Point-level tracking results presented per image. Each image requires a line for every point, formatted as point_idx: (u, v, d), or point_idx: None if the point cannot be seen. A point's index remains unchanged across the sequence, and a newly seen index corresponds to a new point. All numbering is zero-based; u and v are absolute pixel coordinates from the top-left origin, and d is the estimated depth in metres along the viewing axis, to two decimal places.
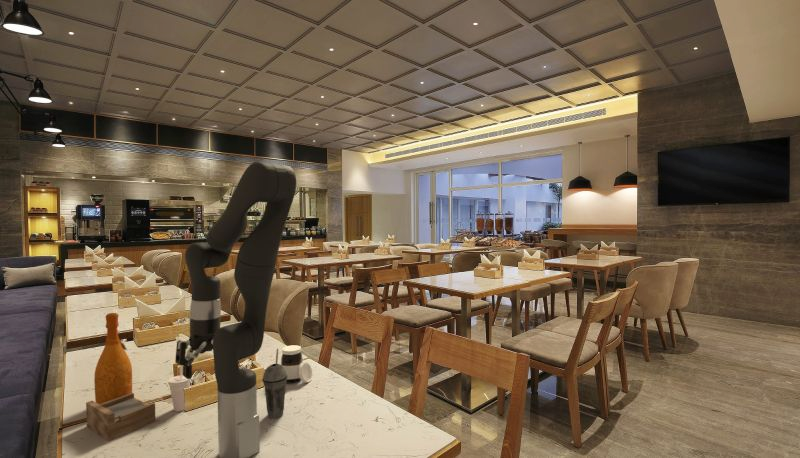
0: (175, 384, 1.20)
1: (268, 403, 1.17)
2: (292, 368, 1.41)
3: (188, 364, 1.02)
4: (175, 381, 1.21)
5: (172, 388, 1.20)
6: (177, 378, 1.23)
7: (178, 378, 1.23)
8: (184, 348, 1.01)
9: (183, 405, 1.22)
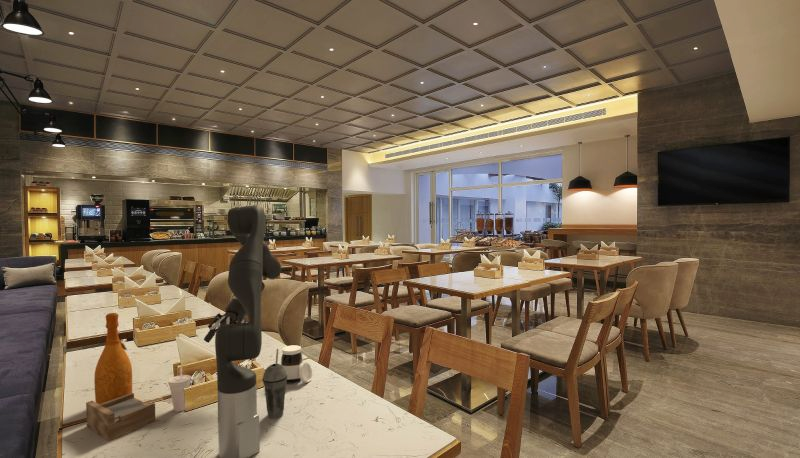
0: (175, 384, 1.20)
1: (268, 403, 1.17)
2: (292, 368, 1.41)
3: (210, 328, 1.37)
4: (175, 381, 1.21)
5: (172, 388, 1.20)
6: (177, 378, 1.23)
7: (178, 378, 1.23)
8: (216, 317, 1.40)
9: (183, 405, 1.22)
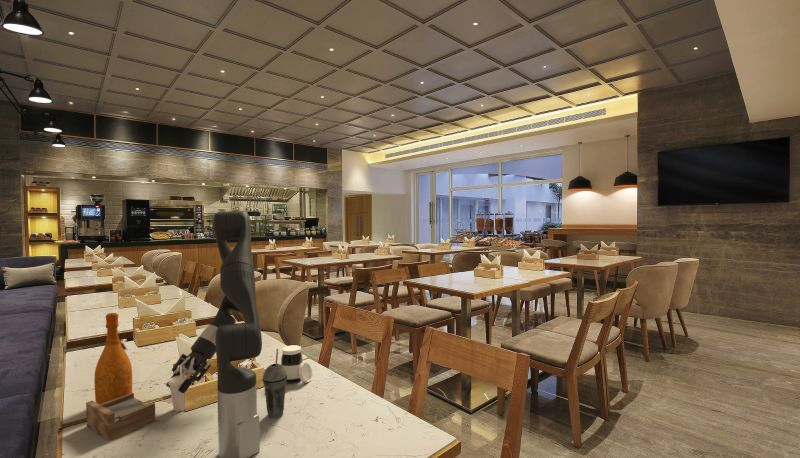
0: (175, 384, 1.20)
1: (268, 403, 1.17)
2: (292, 368, 1.41)
3: (174, 372, 1.25)
4: (175, 381, 1.21)
5: (172, 388, 1.20)
6: (177, 378, 1.23)
7: (178, 378, 1.23)
8: (181, 358, 1.29)
9: (183, 405, 1.22)
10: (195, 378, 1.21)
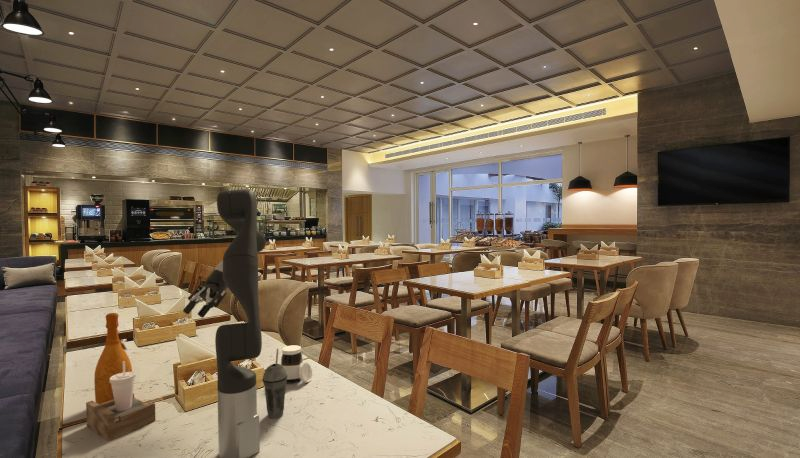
0: (116, 382, 1.12)
1: (268, 403, 1.17)
2: (292, 368, 1.41)
3: (190, 300, 1.32)
4: (117, 378, 1.13)
5: (113, 386, 1.12)
6: (119, 375, 1.14)
7: (121, 375, 1.14)
8: (197, 288, 1.36)
9: (126, 404, 1.14)
10: (213, 303, 1.27)
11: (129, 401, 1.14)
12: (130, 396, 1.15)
